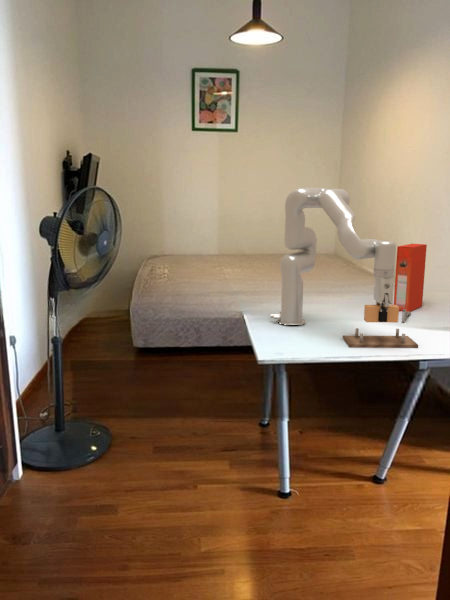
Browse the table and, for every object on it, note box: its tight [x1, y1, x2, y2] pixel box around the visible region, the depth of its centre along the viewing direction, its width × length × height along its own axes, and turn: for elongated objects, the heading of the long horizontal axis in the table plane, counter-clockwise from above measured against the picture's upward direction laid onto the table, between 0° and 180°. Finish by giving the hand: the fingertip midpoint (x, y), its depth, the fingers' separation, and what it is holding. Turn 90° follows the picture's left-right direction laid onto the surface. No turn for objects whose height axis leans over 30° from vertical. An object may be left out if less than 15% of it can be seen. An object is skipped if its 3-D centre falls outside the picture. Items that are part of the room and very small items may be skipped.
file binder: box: [393, 243, 428, 313], centre depth 251 cm, size 8×17×32 cm, turn 138°
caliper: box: [401, 309, 412, 324], centre depth 235 cm, size 20×1×6 cm, turn 151°
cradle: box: [342, 328, 419, 349], centre depth 196 cm, size 26×12×5 cm, turn 89°
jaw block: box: [363, 304, 400, 323], centre depth 194 cm, size 4×12×6 cm, turn 89°
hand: (380, 319), depth 195 cm, fingers closed on jaw block, 4 cm apart
